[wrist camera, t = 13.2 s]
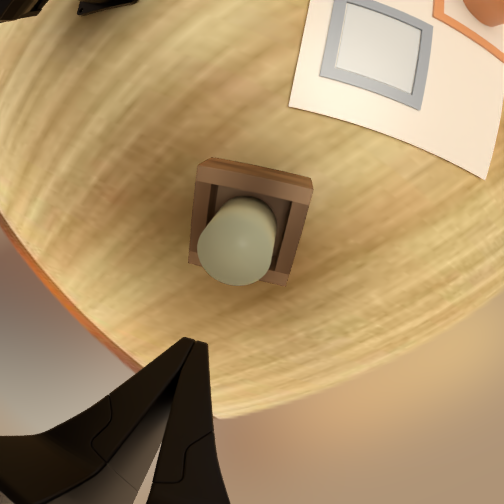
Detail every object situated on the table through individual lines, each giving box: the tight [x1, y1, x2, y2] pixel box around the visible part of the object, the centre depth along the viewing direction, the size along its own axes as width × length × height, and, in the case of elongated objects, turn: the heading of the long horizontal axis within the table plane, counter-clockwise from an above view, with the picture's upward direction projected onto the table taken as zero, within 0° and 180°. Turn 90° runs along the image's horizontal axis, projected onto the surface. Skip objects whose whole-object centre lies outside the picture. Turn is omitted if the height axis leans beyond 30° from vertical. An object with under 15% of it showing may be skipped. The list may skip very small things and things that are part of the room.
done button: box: [197, 196, 277, 286], centre depth 16 cm, size 4×4×4 cm
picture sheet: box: [289, 0, 504, 180], centre depth 10 cm, size 18×22×1 cm
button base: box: [188, 157, 313, 287], centre depth 19 cm, size 7×7×3 cm
